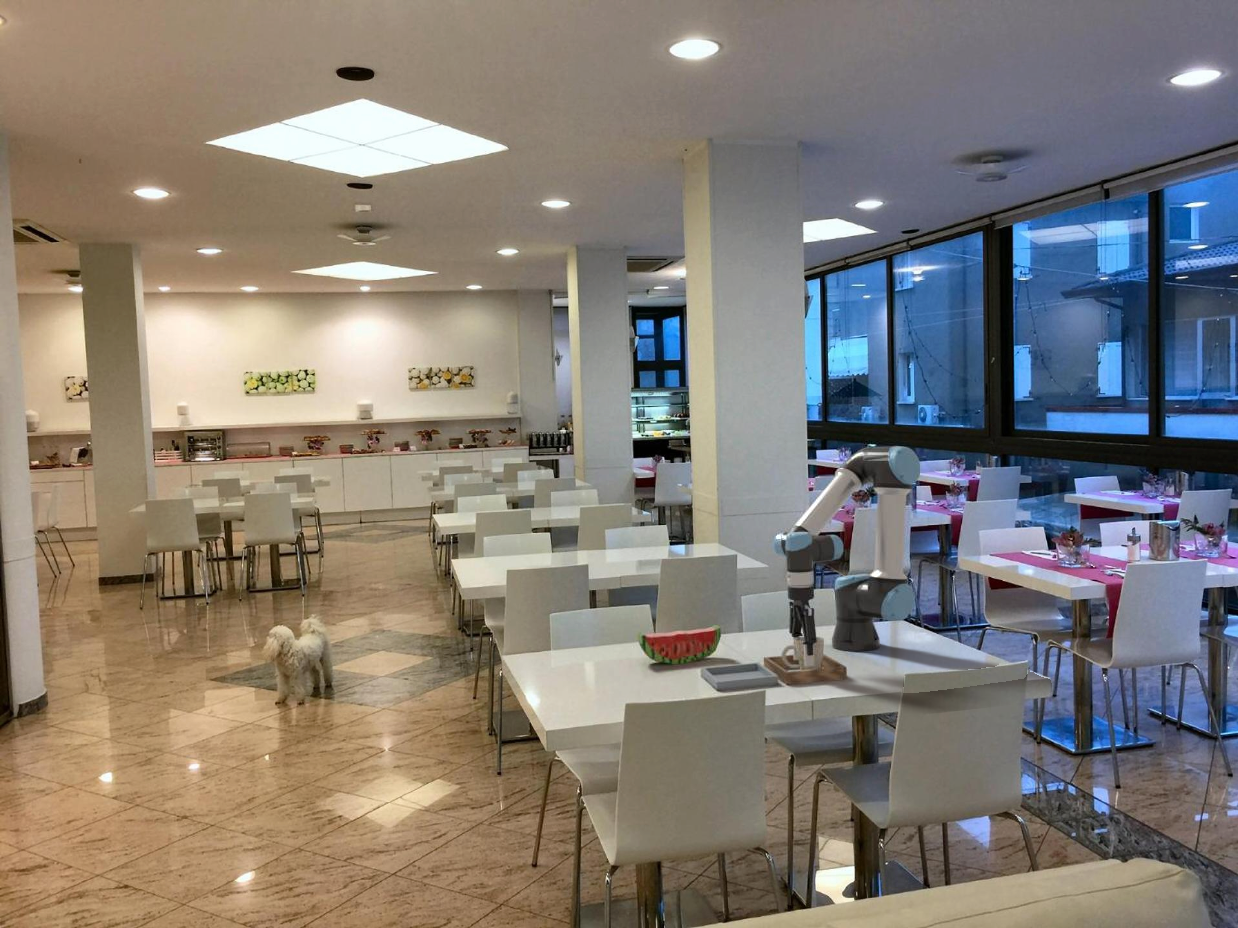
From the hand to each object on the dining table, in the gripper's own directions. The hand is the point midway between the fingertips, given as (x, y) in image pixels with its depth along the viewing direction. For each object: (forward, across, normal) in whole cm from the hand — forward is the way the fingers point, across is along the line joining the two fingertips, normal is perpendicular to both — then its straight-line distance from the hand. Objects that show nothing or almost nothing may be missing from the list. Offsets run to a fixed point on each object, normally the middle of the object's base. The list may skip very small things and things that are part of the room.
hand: (803, 662), depth 289 cm
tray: (+4, 0, -20) cm, 20 cm away
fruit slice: (+4, -29, -30) cm, 42 cm away
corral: (+3, 0, 0) cm, 3 cm away
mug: (+4, 0, 0) cm, 4 cm away
